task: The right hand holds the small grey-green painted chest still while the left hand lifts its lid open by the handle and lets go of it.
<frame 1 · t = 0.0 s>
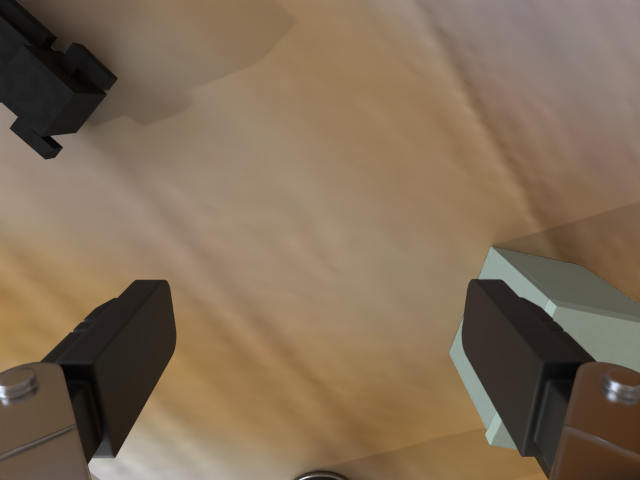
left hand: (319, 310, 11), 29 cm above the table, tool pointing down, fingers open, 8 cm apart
lid: (609, 426, 29), point 16 cm above the table, hinge at 0.0°
chest: (512, 311, 44), on the table
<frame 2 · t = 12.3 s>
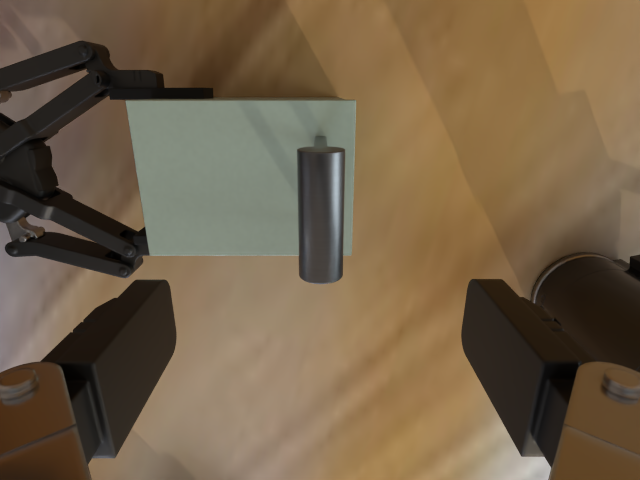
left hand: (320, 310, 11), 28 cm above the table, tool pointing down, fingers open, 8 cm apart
right hand: (215, 168, 31), fingers closed on chest, 10 cm apart
lid: (235, 196, 23), point 16 cm above the table, hinge at 0.0°
chest: (265, 154, 38), on the table, touching right hand
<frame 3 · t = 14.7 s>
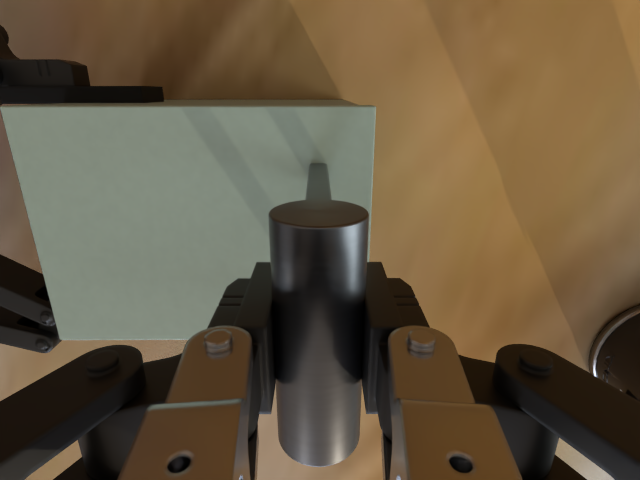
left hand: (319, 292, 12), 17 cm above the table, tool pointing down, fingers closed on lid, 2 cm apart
lid: (172, 271, 13), point 16 cm above the table, hinge at -0.1°, touching left hand
chest: (246, 176, 28), on the table, touching right hand
when the right hand's fingers open (7 cm above the table, at t = 21.8 s): chest stays where it is, on the table.
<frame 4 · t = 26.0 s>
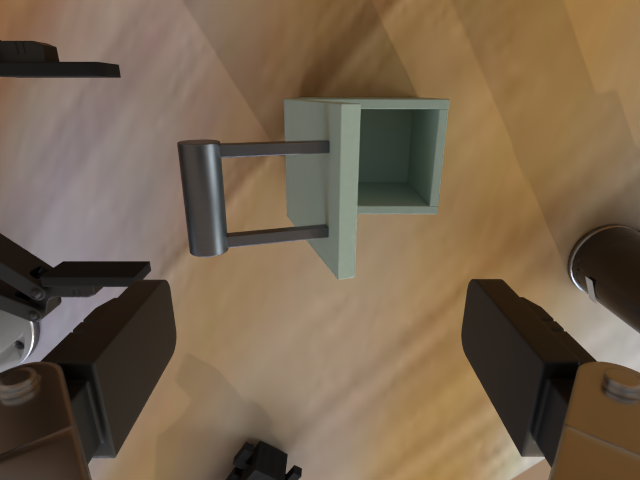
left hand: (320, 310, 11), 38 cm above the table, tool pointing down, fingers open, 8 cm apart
lid: (256, 178, 28), point 20 cm above the table, hinge at 72.7°
chest: (357, 143, 46), on the table
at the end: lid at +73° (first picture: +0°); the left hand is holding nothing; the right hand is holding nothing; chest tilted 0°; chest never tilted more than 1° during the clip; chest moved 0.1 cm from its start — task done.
